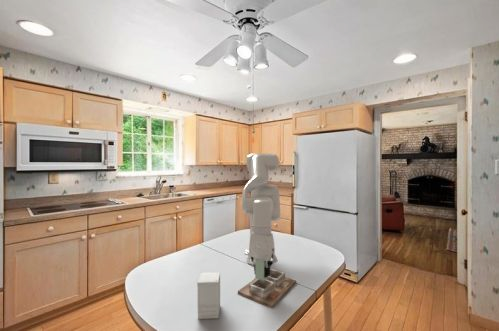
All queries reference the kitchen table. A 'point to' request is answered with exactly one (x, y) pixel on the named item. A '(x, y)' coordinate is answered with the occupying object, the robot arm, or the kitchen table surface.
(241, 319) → the kitchen table surface
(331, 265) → the kitchen table surface
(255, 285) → the socket board
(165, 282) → the kitchen table surface
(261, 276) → the plug
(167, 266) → the kitchen table surface
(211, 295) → the supplement box
